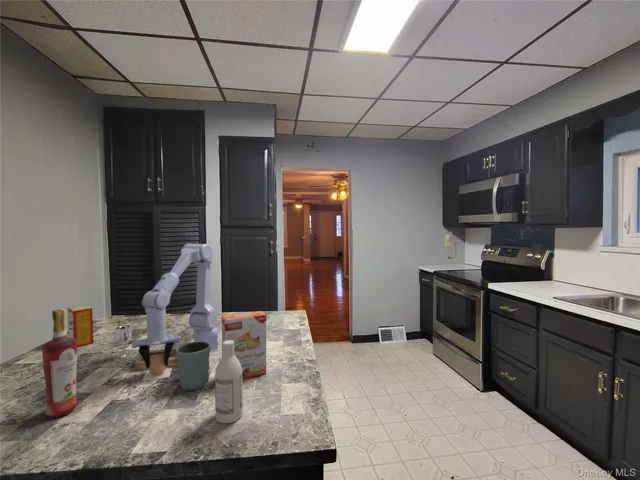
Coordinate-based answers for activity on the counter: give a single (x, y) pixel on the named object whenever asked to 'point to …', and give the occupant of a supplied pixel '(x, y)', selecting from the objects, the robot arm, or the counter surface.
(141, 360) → the brown wooden shallow tray
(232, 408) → the bath foam
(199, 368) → the green cup
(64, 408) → the liquor
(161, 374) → the tile
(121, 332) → the wineglass
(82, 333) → the baking soda box
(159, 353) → the pot
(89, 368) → the counter surface
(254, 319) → the cracker box
